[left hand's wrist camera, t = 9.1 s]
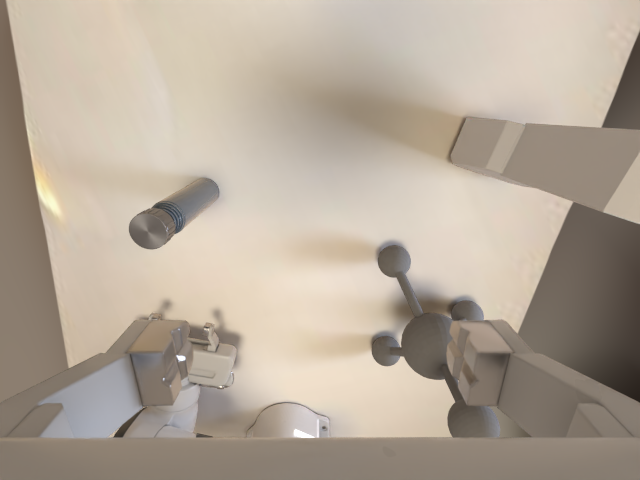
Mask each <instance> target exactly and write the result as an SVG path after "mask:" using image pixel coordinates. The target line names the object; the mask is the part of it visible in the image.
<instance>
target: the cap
mask: <svg viewBox="0 0 640 480" xmlns="http://www.w3.org/2000/svg"><path fill="white" fill-rule="evenodd" d="M174 232H175V223H174V221H173V219H172V217H171V216H170V215H169V214H168V213H167V212H165V211H163V210H161V209H157V208H151V209H150V208H149V209H147V210H146V211H145V210H144V211H143V212H141V213H139V214H137V216H135V217H134V218H133V219H132V220H131V222H130V225H129V233H130V236H131V238H132V239H133V240H134V242H135V243H136V244H138V245H139V246H141V247H143V248H146V249H157V248H159V247H161V246H162V245H164V244H166V243H167V242H168V241H169V240H170V239H171V238H172V237H173V236H174Z"/></svg>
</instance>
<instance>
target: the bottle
mask: <svg viewBox="0 0 640 480" xmlns="http://www.w3.org/2000/svg"><path fill="white" fill-rule="evenodd" d="M218 196H219V189H218V186H217V185H216V183H215V182H213V181H212V180H210V179H207V178H201V179H199V180H197V181H195V182H193V183H191V184H190V185H188V186H186V187H184V188H183V189H181V190H179V191H177V192H176V193H174V194H172V195H170V196H168V197H167V198H165V199H163V200H161V201H160V202H158V203H156V204H155V205H154V206H153V207H152V208H157V209H161V210H163V211H165V212H167V213H168V214H169V215H170V216H171V217H172V219H173V221H174V223H175V232H174V234H176V233H178V232H180V231H181V230H182V229H184V228H185V227H186V226H187V225H188V224H189V223H191V222H192V221H193V220H194V219H195V218H196V217H197V216H199V215H200V214H201V213H202V212H203V211H204V210H206V209H207V208H208V207H209V206H210V205H211V204H213V203H214V202H215V201H216V200H217V198H218Z"/></svg>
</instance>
